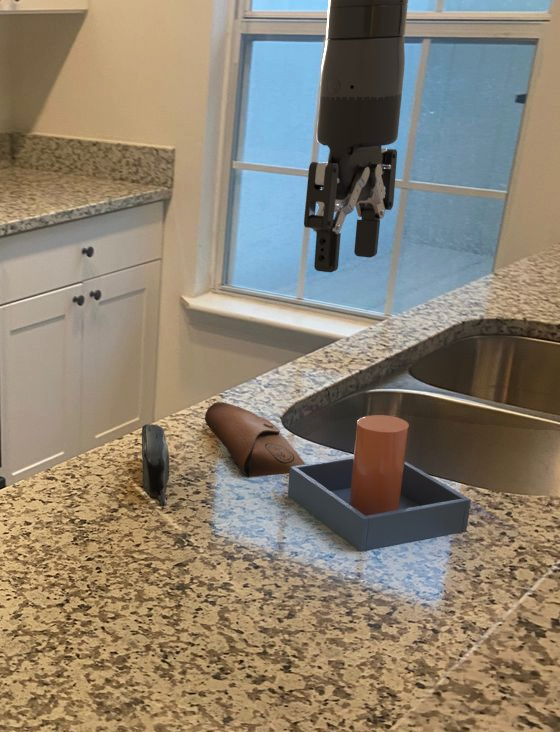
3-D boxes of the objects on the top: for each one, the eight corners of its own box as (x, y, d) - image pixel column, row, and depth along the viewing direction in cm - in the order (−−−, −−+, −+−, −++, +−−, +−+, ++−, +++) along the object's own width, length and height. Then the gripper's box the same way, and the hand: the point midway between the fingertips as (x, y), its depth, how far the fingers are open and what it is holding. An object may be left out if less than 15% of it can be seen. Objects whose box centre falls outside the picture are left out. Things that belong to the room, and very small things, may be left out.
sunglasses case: (315, 471, 118) (289, 426, 115) (262, 504, 119) (236, 460, 116) (266, 419, 134) (242, 379, 131) (220, 448, 135) (196, 409, 132)
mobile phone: (138, 420, 123) (144, 465, 109) (163, 420, 123) (173, 465, 109) (138, 459, 125) (144, 508, 111) (163, 459, 125) (172, 507, 111)
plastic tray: (383, 483, 116) (387, 450, 114) (465, 535, 103) (471, 499, 101) (287, 500, 112) (289, 466, 111) (359, 556, 100) (363, 519, 98)
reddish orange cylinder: (380, 500, 110) (389, 412, 106) (408, 518, 106) (419, 427, 102) (339, 507, 109) (347, 418, 105) (365, 526, 105) (375, 434, 101)
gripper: (363, 96, 90) (347, 281, 97) (430, 85, 99) (411, 255, 106) (287, 95, 94) (277, 272, 101) (358, 86, 104) (344, 248, 111)
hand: (346, 263), depth 104 cm, fingers open, 8 cm apart
